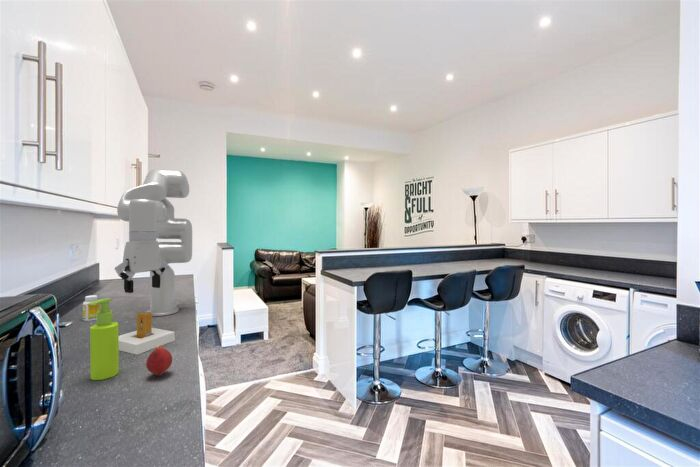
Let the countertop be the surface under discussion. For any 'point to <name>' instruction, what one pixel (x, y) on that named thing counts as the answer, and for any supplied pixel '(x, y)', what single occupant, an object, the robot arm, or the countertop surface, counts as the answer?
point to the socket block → (144, 341)
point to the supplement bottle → (90, 308)
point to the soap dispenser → (104, 343)
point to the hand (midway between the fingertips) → (143, 289)
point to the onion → (159, 361)
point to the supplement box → (144, 324)
